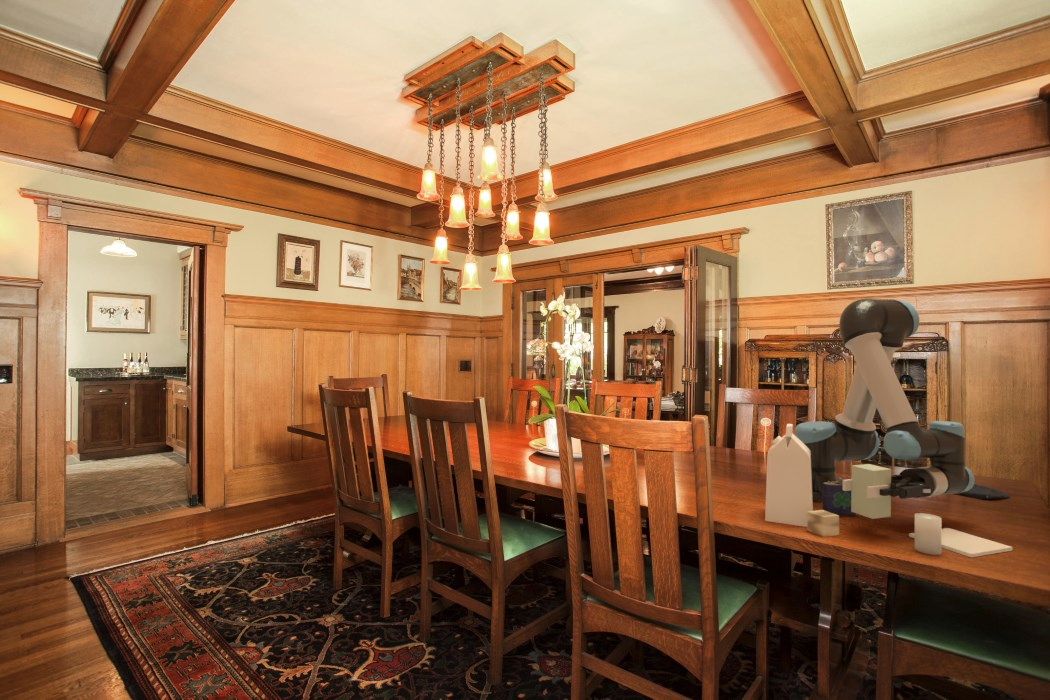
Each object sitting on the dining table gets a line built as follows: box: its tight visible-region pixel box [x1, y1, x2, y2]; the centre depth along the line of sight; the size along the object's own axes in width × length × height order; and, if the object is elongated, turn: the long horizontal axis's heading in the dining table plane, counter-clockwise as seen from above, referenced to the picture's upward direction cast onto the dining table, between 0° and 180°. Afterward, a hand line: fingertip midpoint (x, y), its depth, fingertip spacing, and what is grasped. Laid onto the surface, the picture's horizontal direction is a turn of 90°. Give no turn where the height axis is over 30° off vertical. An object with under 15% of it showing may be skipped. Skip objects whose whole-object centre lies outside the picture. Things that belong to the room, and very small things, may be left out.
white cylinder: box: [914, 512, 943, 556], centre depth 123 cm, size 5×5×8 cm
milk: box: [764, 423, 814, 528], centre depth 147 cm, size 12×12×26 cm
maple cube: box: [807, 509, 840, 538], centre depth 135 cm, size 5×5×5 cm
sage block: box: [851, 463, 892, 520], centre depth 134 cm, size 6×6×12 cm
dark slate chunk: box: [957, 483, 1011, 500], centre depth 175 cm, size 15×22×5 cm
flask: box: [822, 476, 858, 517], centre depth 149 cm, size 9×3×11 cm, turn 88°
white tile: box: [908, 527, 1013, 559], centre depth 127 cm, size 14×14×1 cm
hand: (855, 488), depth 132 cm, fingers closed on sage block, 6 cm apart
